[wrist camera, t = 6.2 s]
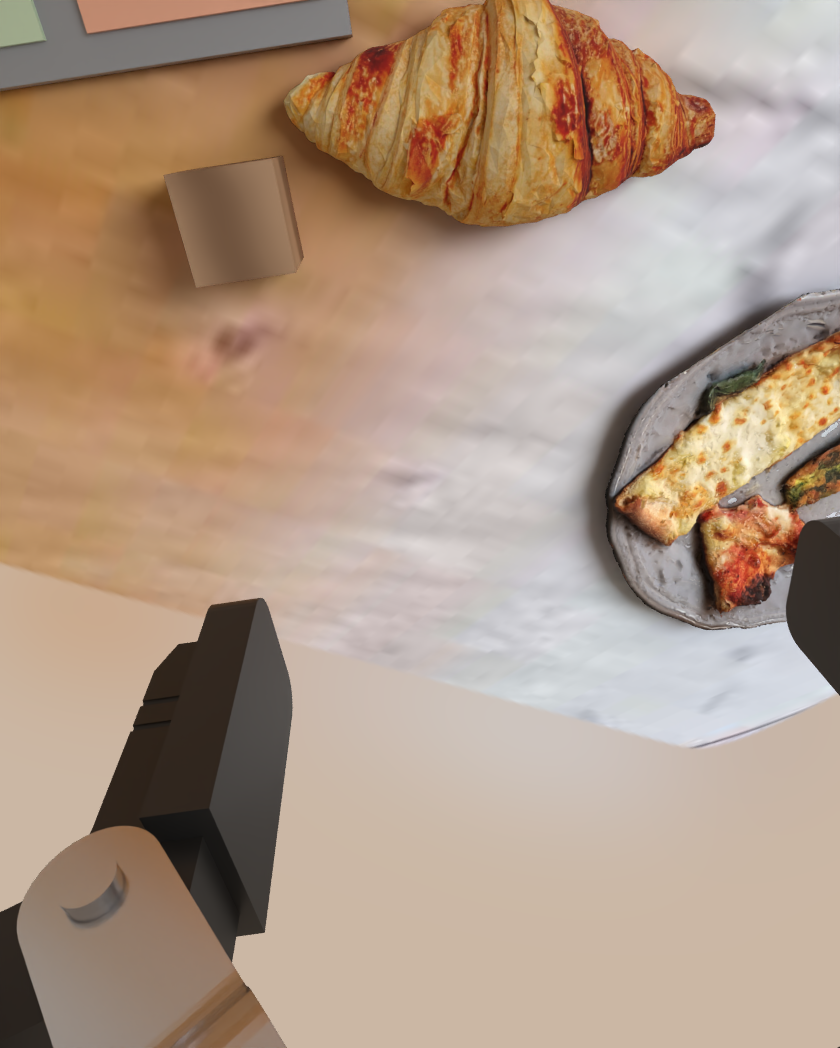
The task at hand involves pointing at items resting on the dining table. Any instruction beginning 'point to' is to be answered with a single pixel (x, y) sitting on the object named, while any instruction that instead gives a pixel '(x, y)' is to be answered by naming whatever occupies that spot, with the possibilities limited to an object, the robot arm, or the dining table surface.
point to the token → (236, 221)
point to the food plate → (732, 471)
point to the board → (150, 34)
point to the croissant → (502, 113)
